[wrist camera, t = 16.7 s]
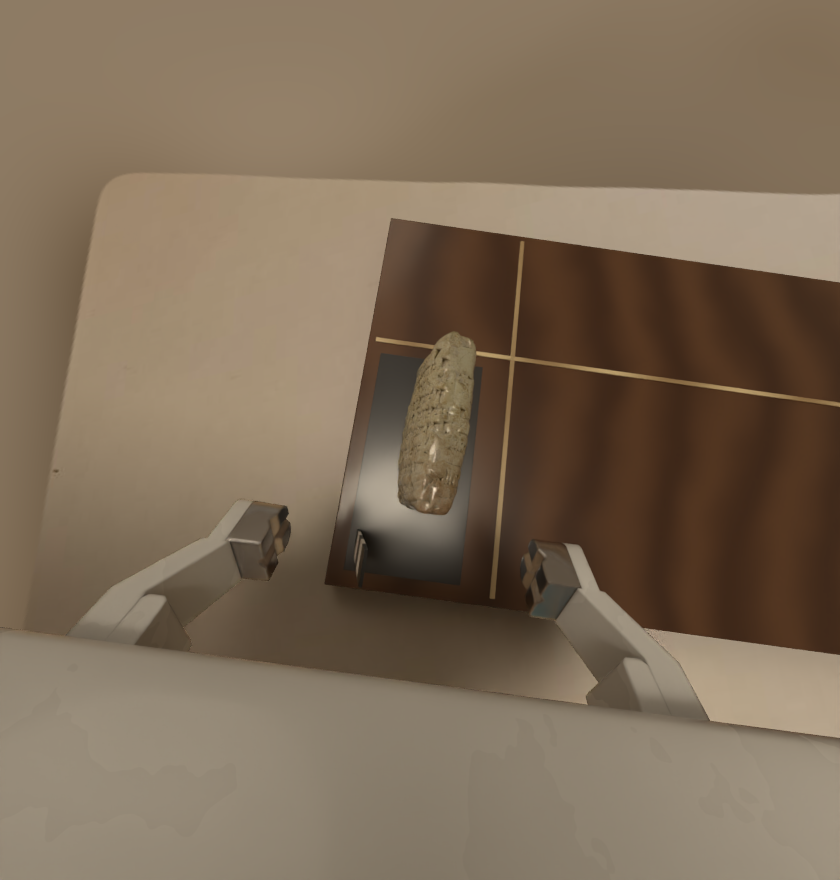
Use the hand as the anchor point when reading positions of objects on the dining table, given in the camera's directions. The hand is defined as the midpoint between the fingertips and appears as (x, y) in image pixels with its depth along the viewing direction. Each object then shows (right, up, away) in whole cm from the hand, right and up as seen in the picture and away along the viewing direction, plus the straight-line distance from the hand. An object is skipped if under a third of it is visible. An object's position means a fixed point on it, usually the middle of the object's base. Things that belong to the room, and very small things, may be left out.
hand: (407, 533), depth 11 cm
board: (+17, +4, +12) cm, 22 cm away
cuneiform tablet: (0, +2, +10) cm, 10 cm away
